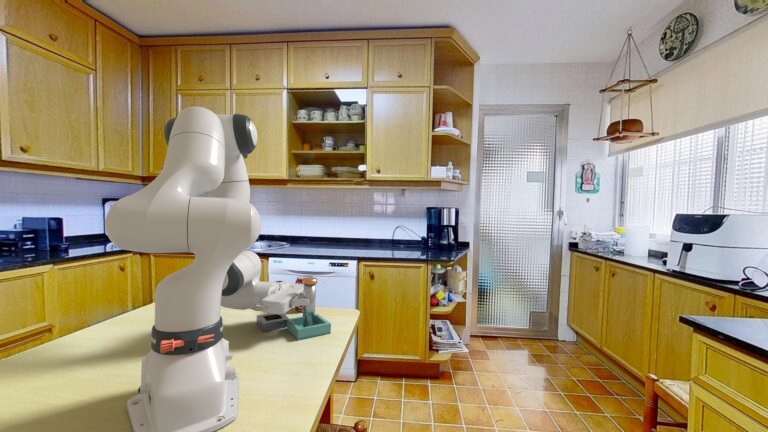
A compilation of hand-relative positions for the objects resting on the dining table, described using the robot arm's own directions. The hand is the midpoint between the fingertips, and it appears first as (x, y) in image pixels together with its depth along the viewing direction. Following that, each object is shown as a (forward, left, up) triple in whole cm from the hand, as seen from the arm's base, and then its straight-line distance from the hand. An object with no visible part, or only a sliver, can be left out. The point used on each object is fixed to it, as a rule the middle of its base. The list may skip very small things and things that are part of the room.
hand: (312, 299), depth 95 cm
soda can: (+20, -5, -10) cm, 23 cm away
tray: (0, +1, -10) cm, 10 cm away
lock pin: (+1, +1, -8) cm, 8 cm away
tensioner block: (+10, +9, -10) cm, 17 cm away
